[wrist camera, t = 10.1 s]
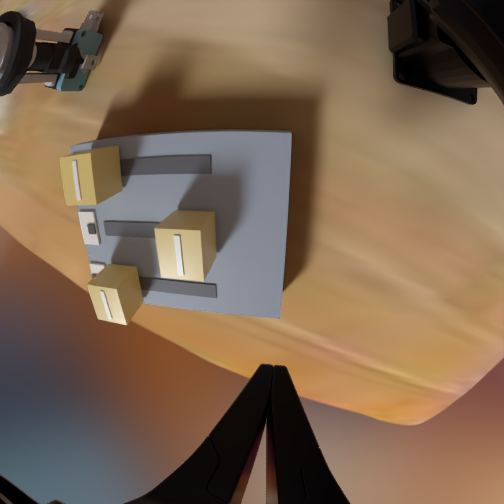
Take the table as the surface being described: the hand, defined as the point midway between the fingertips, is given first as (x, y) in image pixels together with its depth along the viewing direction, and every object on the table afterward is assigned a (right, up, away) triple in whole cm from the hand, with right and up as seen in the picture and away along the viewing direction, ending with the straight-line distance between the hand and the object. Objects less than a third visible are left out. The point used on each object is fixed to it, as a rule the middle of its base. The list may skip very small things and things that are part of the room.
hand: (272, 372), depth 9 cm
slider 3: (-4, +5, +8) cm, 10 cm away
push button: (-13, +19, +6) cm, 23 cm away
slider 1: (-10, +9, +6) cm, 15 cm away
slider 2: (-10, +2, +10) cm, 14 cm away
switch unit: (-5, +7, +11) cm, 14 cm away
